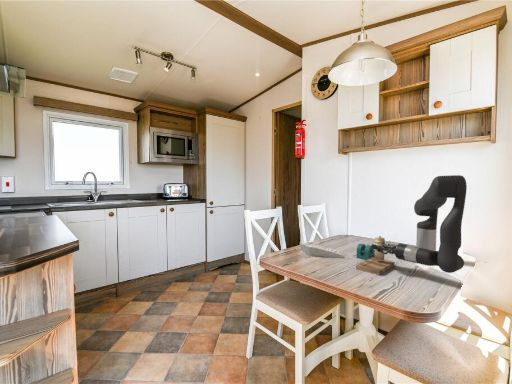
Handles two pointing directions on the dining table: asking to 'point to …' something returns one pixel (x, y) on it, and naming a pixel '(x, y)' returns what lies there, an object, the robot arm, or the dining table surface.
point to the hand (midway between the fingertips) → (374, 245)
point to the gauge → (380, 242)
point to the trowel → (319, 250)
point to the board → (375, 266)
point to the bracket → (365, 252)
